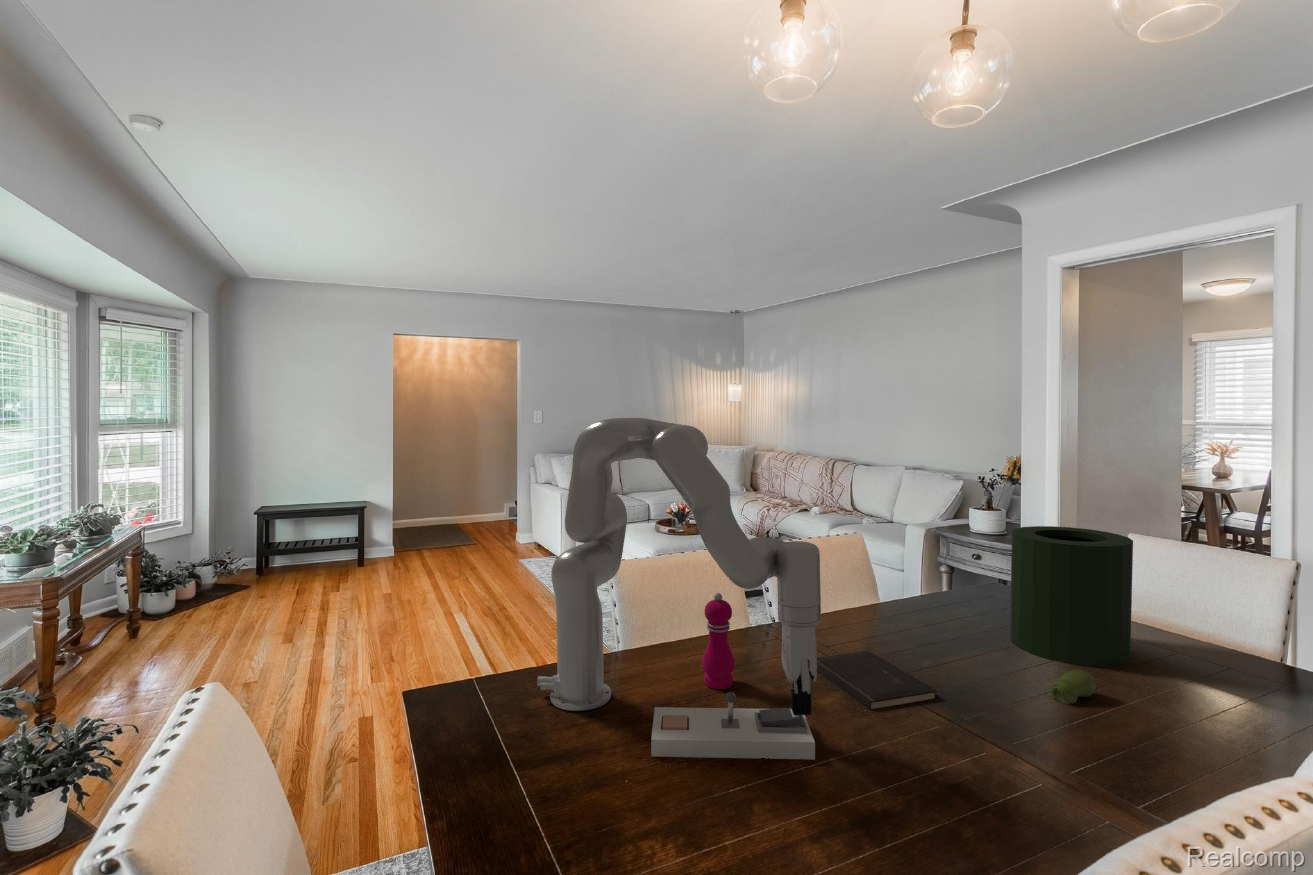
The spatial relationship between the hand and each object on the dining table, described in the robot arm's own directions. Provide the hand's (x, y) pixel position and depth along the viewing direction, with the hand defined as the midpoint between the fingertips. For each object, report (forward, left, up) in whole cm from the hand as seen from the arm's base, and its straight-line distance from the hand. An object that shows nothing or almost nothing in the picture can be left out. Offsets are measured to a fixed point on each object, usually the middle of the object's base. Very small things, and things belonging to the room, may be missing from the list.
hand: (801, 712), depth 115 cm
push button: (-23, 0, -5) cm, 23 cm away
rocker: (-4, 0, -1) cm, 4 cm away
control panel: (-13, 0, -5) cm, 14 cm away
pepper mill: (-14, +24, -6) cm, 28 cm away
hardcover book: (+19, +26, -6) cm, 33 cm away
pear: (+59, +20, -6) cm, 62 cm away
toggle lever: (-13, 0, -2) cm, 13 cm away
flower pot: (+74, +48, -6) cm, 89 cm away
